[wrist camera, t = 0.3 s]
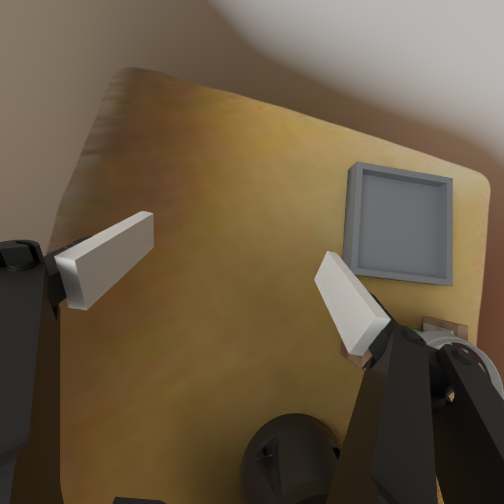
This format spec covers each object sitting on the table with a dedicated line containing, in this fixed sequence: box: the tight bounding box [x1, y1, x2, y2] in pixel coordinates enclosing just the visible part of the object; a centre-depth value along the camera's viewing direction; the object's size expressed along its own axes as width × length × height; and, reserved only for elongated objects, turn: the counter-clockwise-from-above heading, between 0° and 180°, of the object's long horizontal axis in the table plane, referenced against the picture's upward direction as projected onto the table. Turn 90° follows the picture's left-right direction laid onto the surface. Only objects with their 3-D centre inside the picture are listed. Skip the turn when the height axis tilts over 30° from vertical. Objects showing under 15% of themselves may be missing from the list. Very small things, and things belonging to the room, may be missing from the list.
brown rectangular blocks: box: [341, 317, 468, 370], centre depth 28 cm, size 7×16×5 cm, turn 83°
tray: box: [342, 162, 453, 286], centre depth 32 cm, size 18×17×2 cm
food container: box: [410, 328, 504, 400], centre depth 26 cm, size 12×6×10 cm, turn 81°
